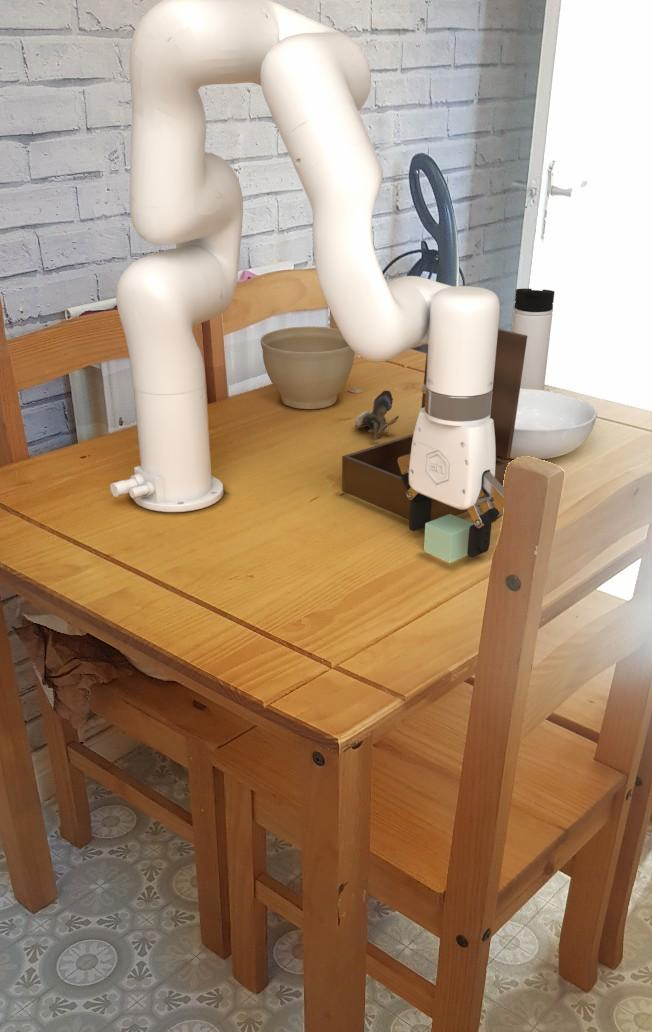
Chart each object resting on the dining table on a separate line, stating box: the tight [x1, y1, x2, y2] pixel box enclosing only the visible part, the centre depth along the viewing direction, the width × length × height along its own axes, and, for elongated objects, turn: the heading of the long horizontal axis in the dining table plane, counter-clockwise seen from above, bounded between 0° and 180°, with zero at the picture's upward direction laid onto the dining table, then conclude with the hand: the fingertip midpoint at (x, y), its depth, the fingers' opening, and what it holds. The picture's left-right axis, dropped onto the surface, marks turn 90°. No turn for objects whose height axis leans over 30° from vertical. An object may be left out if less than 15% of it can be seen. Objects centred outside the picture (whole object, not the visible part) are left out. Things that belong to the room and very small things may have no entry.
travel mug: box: [511, 288, 555, 391], centre depth 171 cm, size 6×7×20 cm
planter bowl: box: [260, 325, 356, 410], centre depth 177 cm, size 16×16×11 cm
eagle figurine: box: [354, 389, 400, 442], centre depth 164 cm, size 8×7×9 cm
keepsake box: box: [341, 433, 509, 521], centre depth 142 cm, size 15×16×6 cm
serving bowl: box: [509, 389, 598, 460], centre depth 158 cm, size 21×21×7 cm
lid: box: [420, 327, 527, 460], centre depth 142 cm, size 16×16×5 cm
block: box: [423, 514, 474, 564], centre depth 127 cm, size 4×4×4 cm
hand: (448, 540), depth 127 cm, fingers open, 9 cm apart
